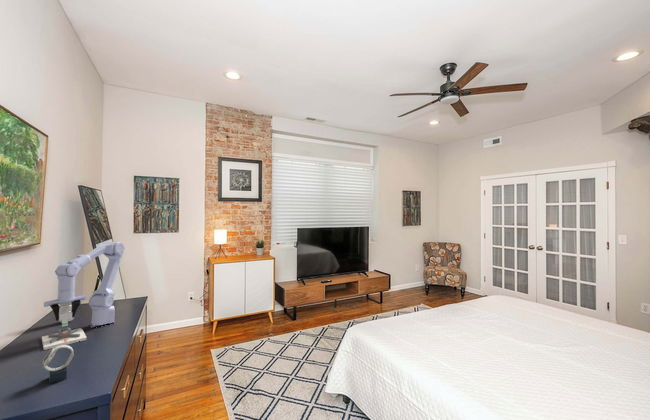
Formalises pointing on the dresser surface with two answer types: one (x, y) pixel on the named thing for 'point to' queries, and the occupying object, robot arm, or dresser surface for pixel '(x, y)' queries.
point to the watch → (59, 371)
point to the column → (65, 317)
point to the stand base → (63, 338)
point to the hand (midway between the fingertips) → (65, 318)
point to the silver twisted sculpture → (66, 309)
